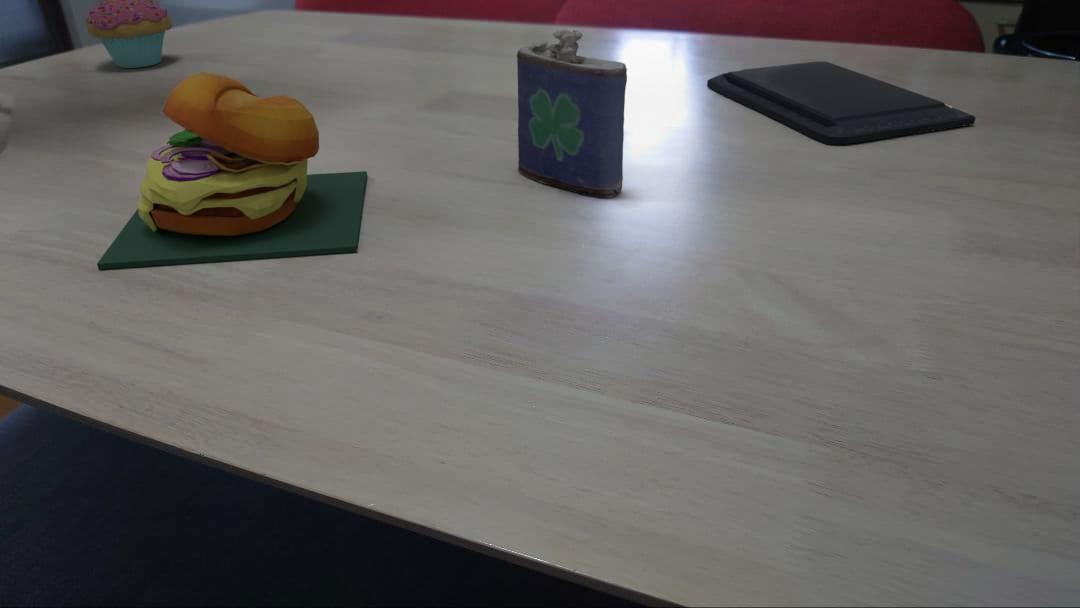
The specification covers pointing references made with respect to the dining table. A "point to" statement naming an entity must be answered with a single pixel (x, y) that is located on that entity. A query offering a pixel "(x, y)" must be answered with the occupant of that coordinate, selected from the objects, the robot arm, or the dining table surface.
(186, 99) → the cheeseburger
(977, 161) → the dining table surface
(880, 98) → the wallet
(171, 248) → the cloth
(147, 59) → the cupcake
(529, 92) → the flask
